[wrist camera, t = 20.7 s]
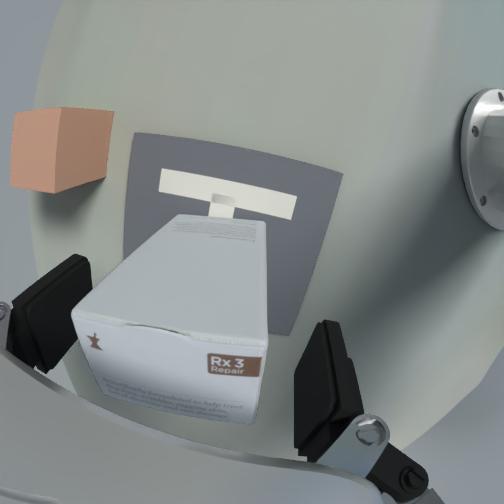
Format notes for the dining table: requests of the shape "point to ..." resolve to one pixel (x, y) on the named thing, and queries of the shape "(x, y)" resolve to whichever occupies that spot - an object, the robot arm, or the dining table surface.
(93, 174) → the block
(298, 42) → the dining table surface
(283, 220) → the letter mat
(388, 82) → the dining table surface
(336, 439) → the robot arm
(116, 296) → the skincare box
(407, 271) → the dining table surface
